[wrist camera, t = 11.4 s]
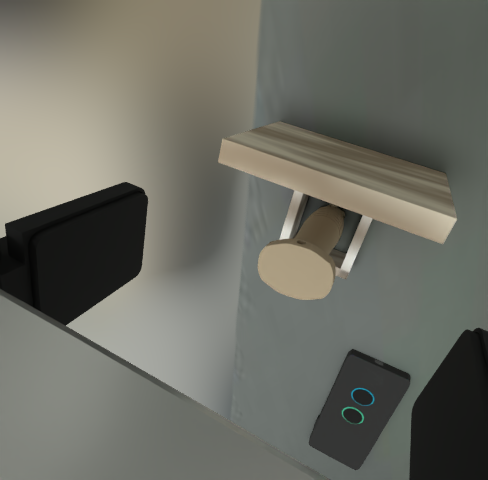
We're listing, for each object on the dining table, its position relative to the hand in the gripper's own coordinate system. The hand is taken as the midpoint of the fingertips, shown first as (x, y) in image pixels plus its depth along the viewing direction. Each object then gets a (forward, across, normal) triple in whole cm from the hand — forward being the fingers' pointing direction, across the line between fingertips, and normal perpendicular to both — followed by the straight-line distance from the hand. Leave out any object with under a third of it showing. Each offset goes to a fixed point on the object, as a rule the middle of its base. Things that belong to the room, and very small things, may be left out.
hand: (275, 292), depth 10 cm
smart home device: (+33, -11, +36) cm, 50 cm away
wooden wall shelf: (+32, +2, +8) cm, 33 cm away
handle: (+32, +2, +10) cm, 34 cm away
